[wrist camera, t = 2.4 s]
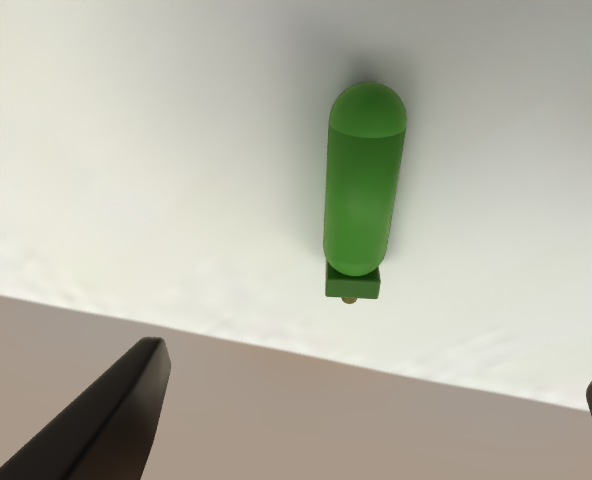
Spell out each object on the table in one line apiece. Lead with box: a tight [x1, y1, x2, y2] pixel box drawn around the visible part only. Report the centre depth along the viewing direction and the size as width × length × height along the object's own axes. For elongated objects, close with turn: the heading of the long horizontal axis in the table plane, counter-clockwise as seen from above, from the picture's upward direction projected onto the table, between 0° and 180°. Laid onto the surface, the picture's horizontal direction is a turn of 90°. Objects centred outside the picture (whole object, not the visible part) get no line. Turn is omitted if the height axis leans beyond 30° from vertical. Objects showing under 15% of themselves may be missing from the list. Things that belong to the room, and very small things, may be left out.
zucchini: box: [323, 82, 407, 304], centre depth 14 cm, size 8×2×2 cm, turn 0°
